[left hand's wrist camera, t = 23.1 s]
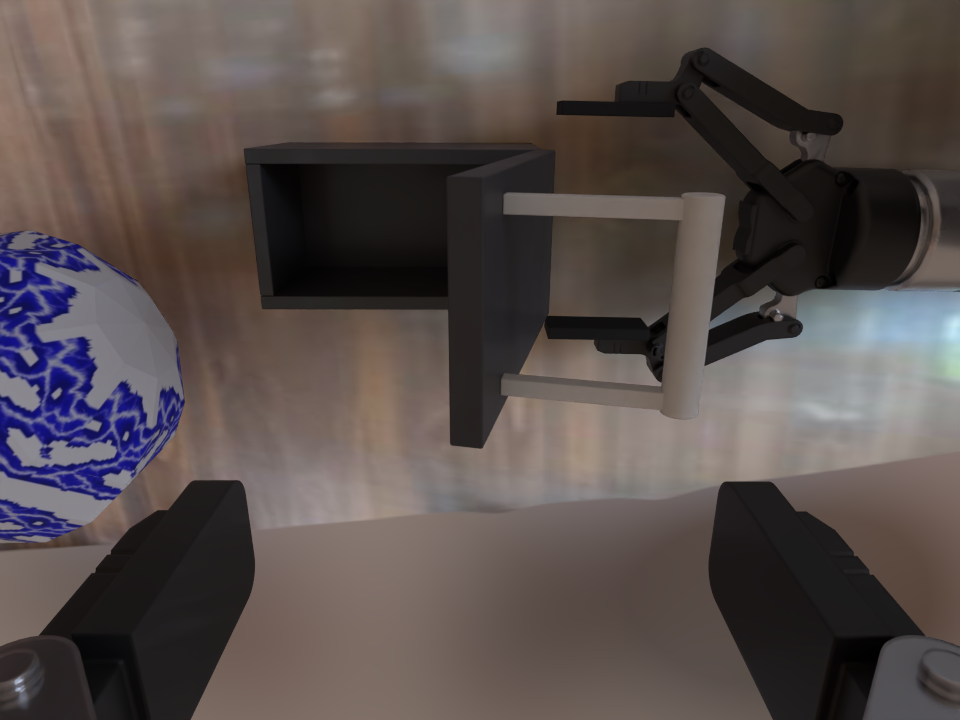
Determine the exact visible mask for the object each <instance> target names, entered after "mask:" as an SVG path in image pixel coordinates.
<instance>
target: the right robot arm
mask: <svg viewBox="0 0 960 720" xmlns="http://www.w3.org/2000/svg"><path fill="white" fill-rule="evenodd" d="M701 83H704V84H706V85H707V86H709V87H711V88H712V89H714V90H716V91H717V92H719V93H720V94H722V95H724V96H725V97H727V98H729V99H730V100H732V101H734V102H735V103H737V104H739V105H740V106H742V107H744V108H745V109H747V110H749V111H750V112H752V113H753V114H755V115H757V116H758V117H760V118H762V119H763V120H765V121H767V122H768V123H770V124H772V125H774V126H776V127H777V128H780V129H783V130H786V131H791V132H790V135H789V139H790V142H791V143H792V144H793V145H794V146H796V147H798V148H799V149H800V151H801V159H798V160H796V161H794V162H793V163H791V164H789V165H788V166H786V167H785V168H783V169H782V170H779V169H778V168H777V167H776V166H775V165H774V164H772V163H771V162H770V161H768V160H767V159H765V158H764V157H763V156H762V155H761V153H760V152H759V151H758V150H757V149H756V148H755V147H754V146H753V145H752V144H751V143H750V142H749V141H748V140H747V139H746V138H745V137H744V135H743V134H742V133H741V132H740V131H739V130H738V129H737V128H736V127H735V126H734V125H733V124H732V123H731V122H730V121H729V120H728V118H727V117H726V116H725V115H724V114H723V113H722V112H721V111H720V110H719V109H718V108H717V107H716V106H715V105H714V104H713V103H712V102H711V100H710V99H709V98H708V97H707V96H706V95H705V94H704V93H703V92H702V91H701V90H700V89H699V87H700V85H701ZM675 109H676V110H677V111H678V112H679V113H680V114H681V115H682V116H683V118H684V119H685V120H686V121H687V122H688V123H689V124H690V125H691V126H692V127H693V128H694V129H695V130H696V131H697V132H698V133H699V134H700V135H701V136H702V137H703V138H704V139H705V140H706V141H707V142H708V143H709V145H710V146H711V147H712V148H713V149H714V150H715V151H716V152H717V153H718V154H719V155H720V156H721V157H722V158H723V159H724V160H725V161H726V162H727V163H728V164H729V165H730V166H731V167H732V168H733V169H734V170H735V172H736V174H737V176H738V177H739V178H740V179H741V180H742V181H743V182H744V183H745V184H746V185H747V186H748V187H749V188H750V189H751V190H750V191H749V192H748V193H747V195H746V196H745V198H744V200H743V201H740V204H739V211H738V216H739V228H738V230H737V233H736V235H735V237H734V243H733V250H735V251H736V255H737V258H738V259H737V260H735V261H734V262H733V263H731V264H730V265H728V266H727V267H726V268H724V269H723V270H722V272H721V274H720V275H719V276H718V277H717V278H715V285H714V293H713V301H712V309H711V316H710V321H711V320H713V319H714V318H715V317H717V316H718V315H720V314H721V313H722V312H724V311H725V310H727V309H728V308H730V307H731V306H732V305H734V304H735V303H737V302H738V301H739V300H741V299H742V298H745V297H749V296H752V295H754V294H755V293H756V292H758V291H759V290H761V289H762V288H764V287H765V286H766V285H768V286H769V287H770V288H771V289H773V290H774V291H776V296H775V298H774V299H773V300H772V301H771V302H768V303H765V304H763V305H761V306H760V310H759V312H753V313H749V314H746V315H743V316H740V317H738V318H736V319H733V320H731V321H729V322H726V323H724V324H722V325H719V326H717V327H715V328H712V329H710V330H709V332H708V340H707V348H706V356H705V364H704V366H706V365H708V364H710V363H713V362H715V361H718V360H720V359H722V358H725V357H727V356H729V355H732V354H734V353H737V352H739V351H741V350H744V349H746V348H749V347H751V346H753V345H756V344H758V343H760V342H763V341H765V340H770V339H782V338H793V337H797V336H798V335H799V334H800V333H801V332H802V329H803V325H802V323H801V322H800V321H798V320H797V319H796V309H797V295H799V294H801V293H803V292H805V291H808V290H812V289H833V290H880V289H883V288H885V289H887V290H889V291H949V292H950V291H958V292H960V171H956V170H918V169H911V170H904V171H901V172H900V171H898V170H895V169H874V168H834V167H830V166H828V165H827V164H825V163H824V162H823V160H824V157H825V153H826V150H827V147H828V143H829V140H830V137H831V135H835V134H837V133H838V132H839V131H840V130H841V129H842V127H843V119H842V117H841V116H840V115H838V114H834V113H827V112H821V111H814V110H808V109H806V108H805V107H803V106H801V105H800V104H798V103H797V102H795V101H793V100H792V99H790V98H788V97H787V96H785V95H784V94H782V93H780V92H779V91H777V90H775V89H774V88H772V87H771V86H769V85H767V84H766V83H764V82H762V81H761V80H759V79H758V78H756V77H754V76H753V75H751V74H750V73H748V72H746V71H745V70H743V69H741V68H740V67H738V66H737V65H735V64H733V63H732V62H730V61H728V60H727V59H725V58H724V57H722V56H720V55H719V54H717V53H715V52H714V51H712V50H711V49H709V48H700V49H697V50H694V51H690V52H688V53H686V54H685V55H684V56H683V57H682V60H681V66H680V68H679V71H678V73H677V75H676V76H675V78H674V79H673V80H671V81H670V82H654V81H627V82H624V83H621V84H618V85H616V90H615V102H598V101H558V102H557V114H556V115H590V116H633V117H674V113H675ZM668 318H669V312H668V313H667V314H666V315H664V316H663V317H662V318H660V319H659V320H657V321H656V322H655V323H653V324H652V325H651V326H649V327H647V326H646V324H645V323H644V322H643V321H642V319H641V318H623V317H573V316H547V318H546V320H545V325H544V327H545V330H546V333H547V336H548V339H582V340H594V345H595V347H596V349H597V350H598V351H600V352H602V353H609V354H613V353H614V354H619V353H620V354H642V355H645V356H646V360H647V366H648V367H649V369H650V370H651V372H652V373H653V375H654V376H655V378H656V379H657V380H658V381H659V382H662V375H663V366H664V356H665V347H666V337H667V327H668Z"/></svg>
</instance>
